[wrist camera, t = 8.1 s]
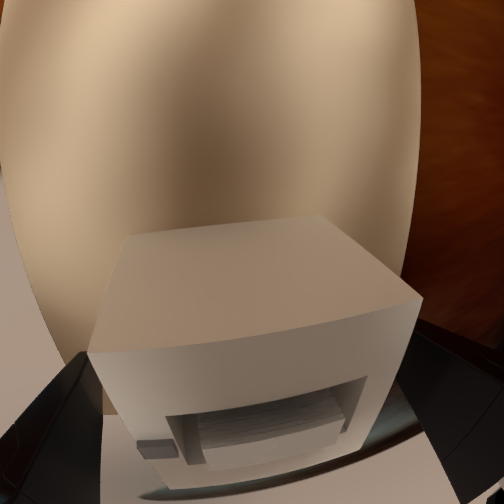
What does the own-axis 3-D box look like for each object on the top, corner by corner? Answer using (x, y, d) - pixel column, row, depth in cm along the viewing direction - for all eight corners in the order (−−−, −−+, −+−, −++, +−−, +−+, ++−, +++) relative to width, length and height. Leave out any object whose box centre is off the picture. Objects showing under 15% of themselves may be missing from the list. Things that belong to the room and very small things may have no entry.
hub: (321, 215, 10) (429, 303, 5) (308, 353, 12) (362, 454, 8) (127, 235, 8) (84, 361, 4) (163, 376, 11) (170, 494, 6)
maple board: (379, -60, 6) (398, -71, 5) (360, 352, 15) (373, 370, 14) (39, -59, 4) (27, -74, 2) (98, 391, 13) (94, 414, 11)
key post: (274, 287, 10) (345, 418, 5) (273, 315, 11) (335, 444, 6) (185, 299, 10) (201, 449, 5) (190, 327, 10) (209, 471, 5)
